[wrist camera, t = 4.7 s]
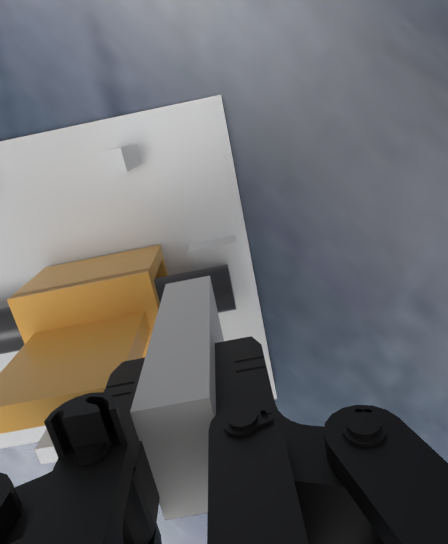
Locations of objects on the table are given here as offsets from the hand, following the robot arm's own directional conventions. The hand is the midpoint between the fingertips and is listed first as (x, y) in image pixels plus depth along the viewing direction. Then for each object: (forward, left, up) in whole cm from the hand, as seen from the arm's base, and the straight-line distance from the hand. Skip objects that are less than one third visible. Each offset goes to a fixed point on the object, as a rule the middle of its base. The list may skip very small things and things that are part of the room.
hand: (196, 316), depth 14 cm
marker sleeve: (+4, 0, -4) cm, 6 cm away
